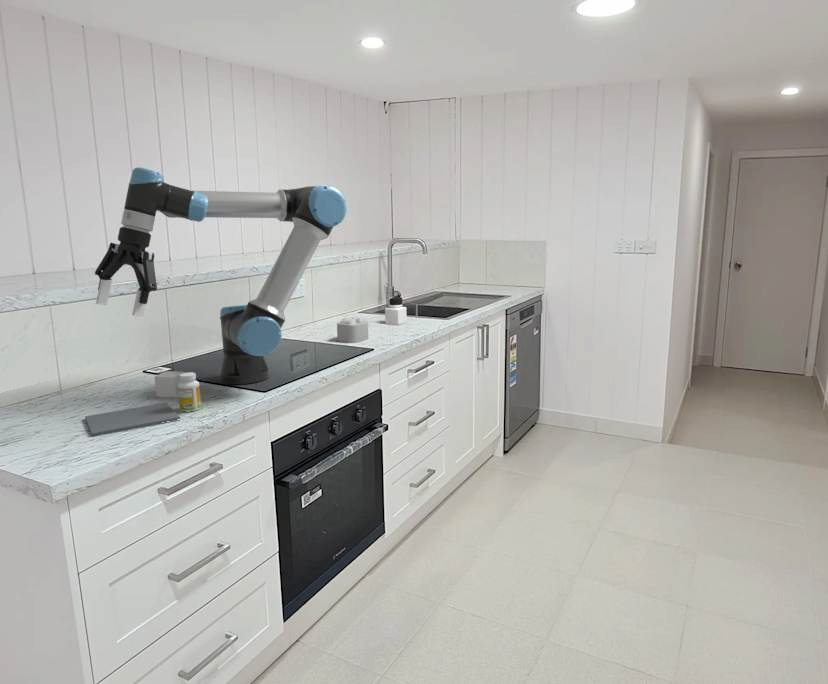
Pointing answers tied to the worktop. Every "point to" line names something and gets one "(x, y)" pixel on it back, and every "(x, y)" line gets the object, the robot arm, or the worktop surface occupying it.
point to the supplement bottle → (189, 392)
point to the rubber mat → (130, 418)
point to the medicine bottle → (395, 312)
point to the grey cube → (167, 384)
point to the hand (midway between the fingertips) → (119, 310)
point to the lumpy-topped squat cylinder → (352, 330)
